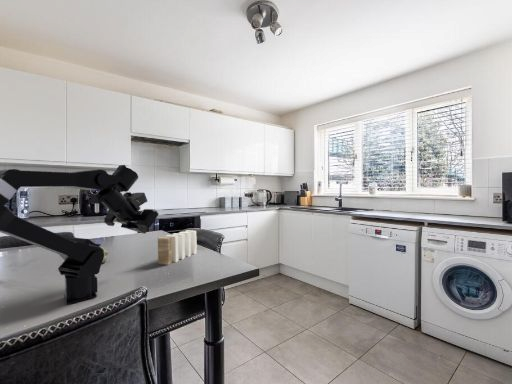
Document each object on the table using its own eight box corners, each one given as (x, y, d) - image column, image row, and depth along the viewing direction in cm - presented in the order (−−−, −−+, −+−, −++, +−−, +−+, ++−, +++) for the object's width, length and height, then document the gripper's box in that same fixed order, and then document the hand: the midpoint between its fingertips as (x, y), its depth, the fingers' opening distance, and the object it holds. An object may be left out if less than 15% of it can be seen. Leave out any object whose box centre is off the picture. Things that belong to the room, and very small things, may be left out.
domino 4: (188, 256, 106) (188, 233, 106) (179, 255, 108) (178, 232, 108) (191, 255, 108) (190, 232, 107) (181, 254, 109) (181, 231, 109)
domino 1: (168, 265, 95) (168, 238, 95) (158, 263, 97) (157, 237, 97) (171, 263, 97) (171, 237, 96) (161, 262, 98) (160, 236, 98)
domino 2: (175, 262, 99) (175, 236, 98) (165, 260, 101) (165, 235, 100) (178, 260, 100) (178, 235, 100) (168, 259, 102) (168, 235, 102)
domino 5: (194, 254, 110) (194, 231, 110) (185, 253, 112) (184, 230, 111) (196, 253, 111) (196, 230, 111) (187, 252, 113) (187, 230, 113)
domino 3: (182, 259, 102) (182, 234, 102) (172, 258, 104) (172, 233, 104) (185, 258, 104) (184, 234, 104) (175, 257, 106) (174, 233, 106)
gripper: (153, 183, 79) (177, 215, 90) (111, 184, 86) (138, 213, 97) (133, 211, 72) (161, 242, 82) (89, 209, 79) (120, 238, 90)
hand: (145, 232), depth 88 cm, fingers closed
